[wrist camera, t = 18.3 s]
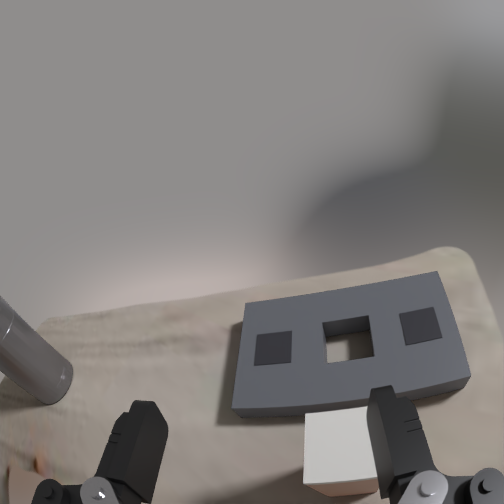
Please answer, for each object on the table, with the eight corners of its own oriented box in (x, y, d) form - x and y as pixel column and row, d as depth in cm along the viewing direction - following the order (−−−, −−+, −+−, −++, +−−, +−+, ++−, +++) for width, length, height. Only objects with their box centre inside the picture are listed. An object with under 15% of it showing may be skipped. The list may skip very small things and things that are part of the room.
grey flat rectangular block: (241, 417, 32) (230, 408, 30) (252, 317, 42) (245, 302, 40) (464, 387, 25) (471, 375, 23) (435, 287, 35) (437, 270, 34)
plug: (329, 497, 22) (303, 483, 14) (330, 456, 26) (305, 413, 17) (376, 491, 21) (384, 475, 13) (375, 450, 24) (380, 404, 16)
